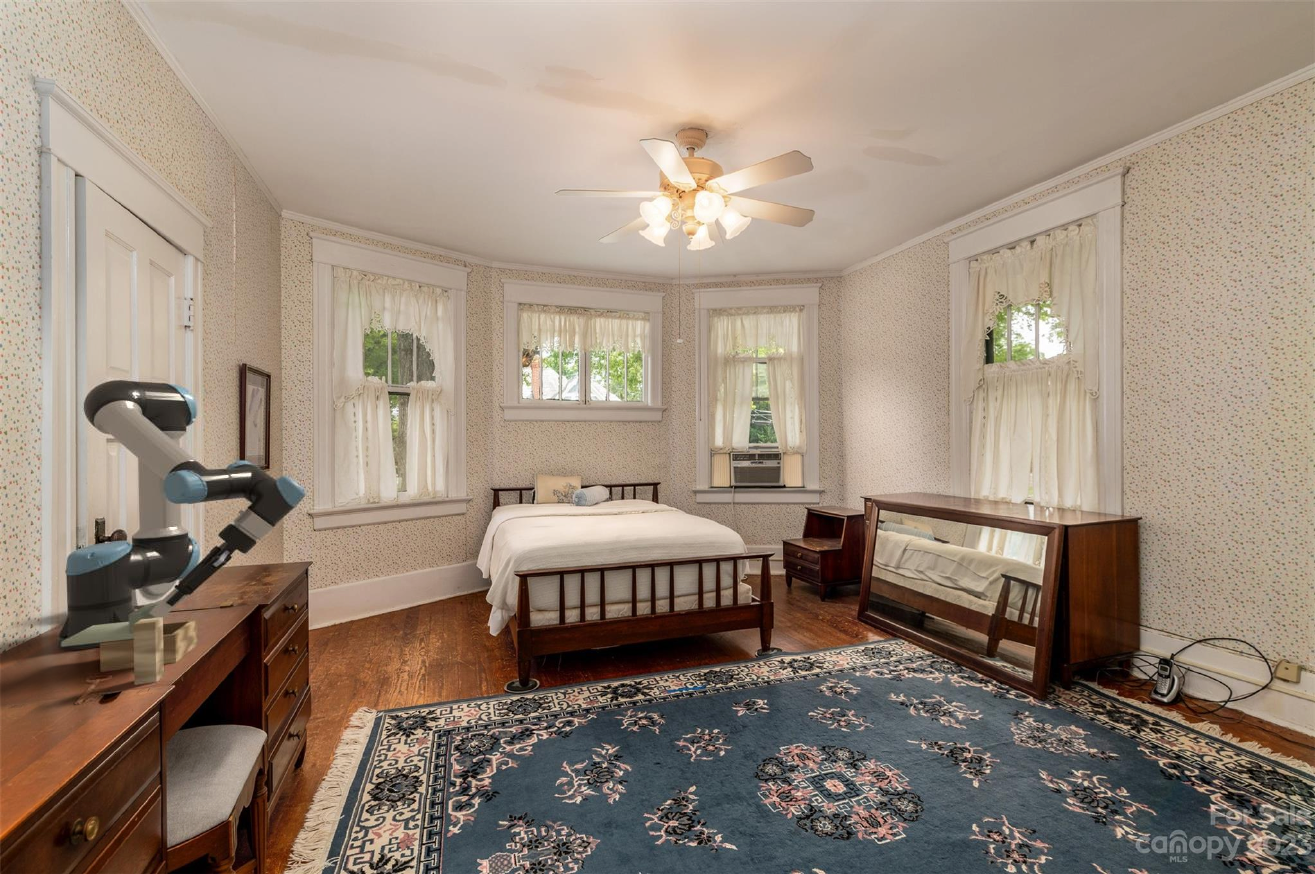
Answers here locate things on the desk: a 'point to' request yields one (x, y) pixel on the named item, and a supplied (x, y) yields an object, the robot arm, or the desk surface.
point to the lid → (111, 629)
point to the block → (148, 650)
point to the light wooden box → (175, 646)
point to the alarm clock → (151, 594)
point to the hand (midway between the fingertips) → (155, 615)
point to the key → (92, 686)
